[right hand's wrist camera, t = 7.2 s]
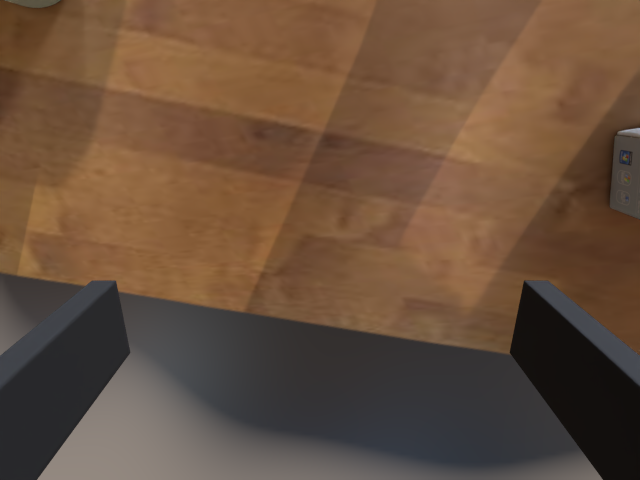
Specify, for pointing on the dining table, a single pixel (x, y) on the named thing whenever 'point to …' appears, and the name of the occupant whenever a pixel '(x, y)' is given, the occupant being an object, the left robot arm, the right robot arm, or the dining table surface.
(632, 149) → the hard drive box
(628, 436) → the right robot arm
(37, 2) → the jar
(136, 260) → the dining table surface
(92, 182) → the dining table surface
